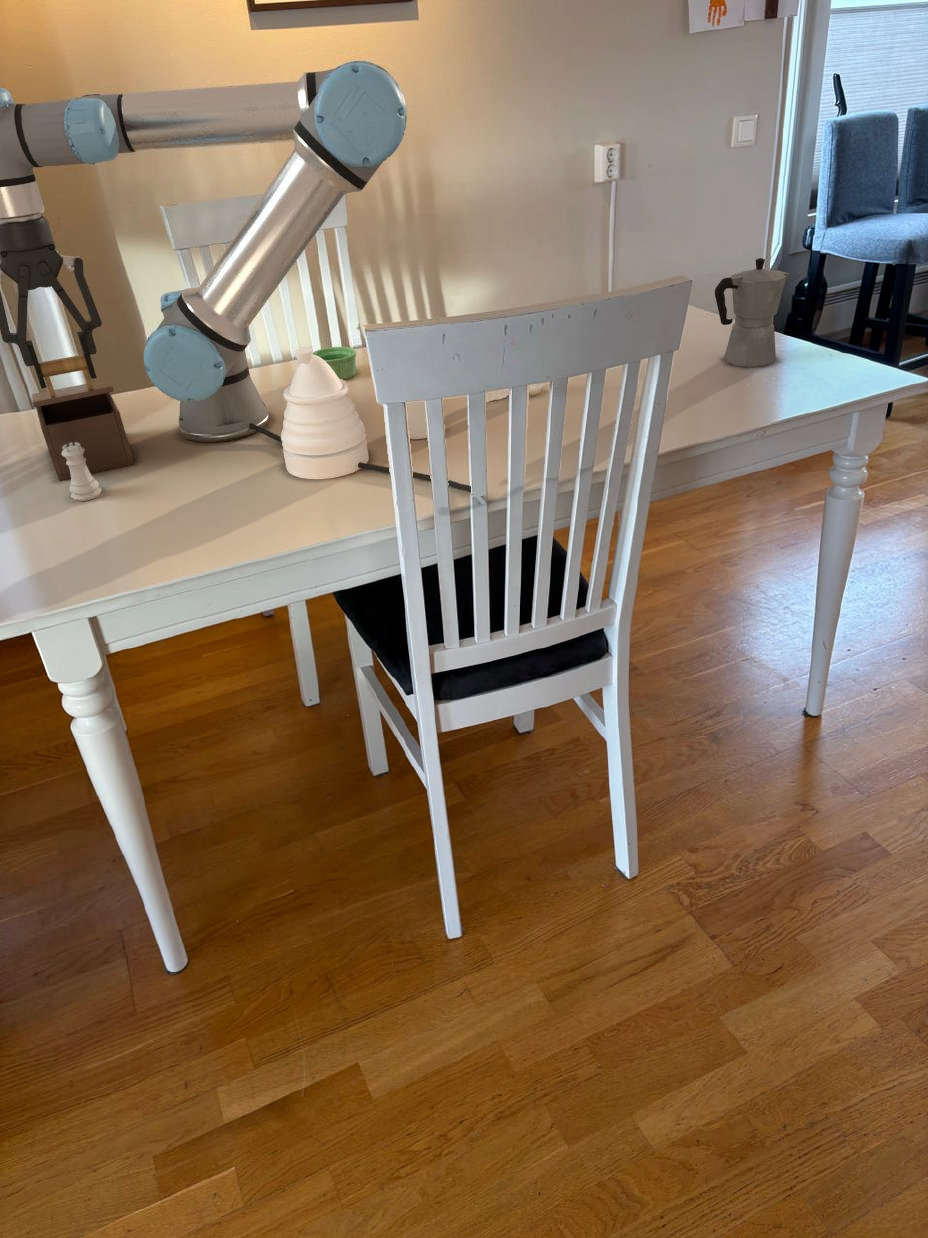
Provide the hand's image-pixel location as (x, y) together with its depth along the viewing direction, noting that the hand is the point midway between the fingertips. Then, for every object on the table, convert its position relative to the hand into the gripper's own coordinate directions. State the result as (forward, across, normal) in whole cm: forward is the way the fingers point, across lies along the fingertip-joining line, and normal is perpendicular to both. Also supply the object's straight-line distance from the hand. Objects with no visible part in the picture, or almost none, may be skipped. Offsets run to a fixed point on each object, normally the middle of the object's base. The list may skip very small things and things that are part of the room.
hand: (68, 380), depth 137 cm
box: (+14, 0, -5) cm, 15 cm away
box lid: (+4, 0, -5) cm, 6 cm away
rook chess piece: (+14, +3, +11) cm, 18 cm away
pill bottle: (+14, -50, +17) cm, 55 cm away
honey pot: (+14, -32, +21) cm, 41 cm away
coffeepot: (+15, -115, +21) cm, 117 cm away
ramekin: (+14, -48, -20) cm, 54 cm away
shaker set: (+14, -71, +12) cm, 74 cm away
